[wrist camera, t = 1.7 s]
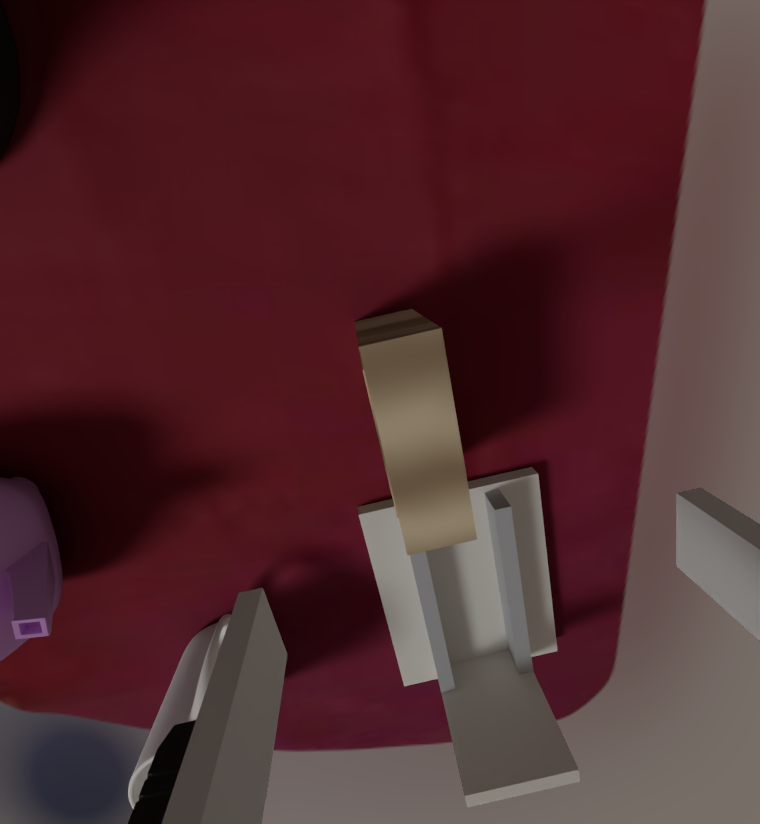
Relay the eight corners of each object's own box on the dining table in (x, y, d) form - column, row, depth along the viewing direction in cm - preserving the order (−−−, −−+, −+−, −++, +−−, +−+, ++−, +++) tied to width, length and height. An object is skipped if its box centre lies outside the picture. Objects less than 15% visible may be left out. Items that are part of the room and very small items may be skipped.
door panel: (353, 321, 30) (356, 347, 21) (412, 308, 30) (443, 327, 21) (388, 475, 34) (405, 555, 25) (441, 463, 34) (478, 539, 25)
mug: (289, 582, 36) (267, 705, 26) (286, 692, 40) (266, 836, 30) (181, 580, 36) (115, 706, 25) (188, 692, 39) (133, 841, 29)
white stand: (358, 506, 35) (363, 612, 24) (531, 466, 35) (613, 555, 24) (402, 674, 40) (423, 819, 30) (551, 640, 40) (624, 773, 30)
